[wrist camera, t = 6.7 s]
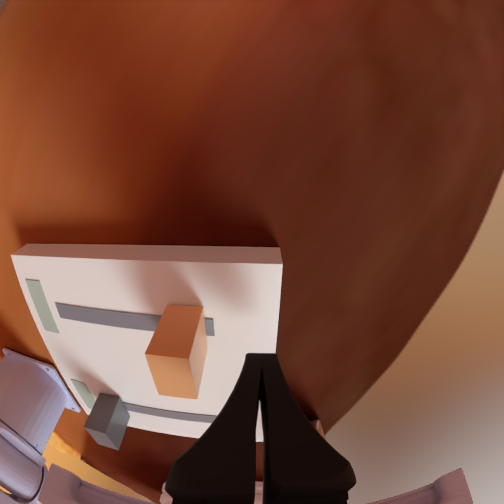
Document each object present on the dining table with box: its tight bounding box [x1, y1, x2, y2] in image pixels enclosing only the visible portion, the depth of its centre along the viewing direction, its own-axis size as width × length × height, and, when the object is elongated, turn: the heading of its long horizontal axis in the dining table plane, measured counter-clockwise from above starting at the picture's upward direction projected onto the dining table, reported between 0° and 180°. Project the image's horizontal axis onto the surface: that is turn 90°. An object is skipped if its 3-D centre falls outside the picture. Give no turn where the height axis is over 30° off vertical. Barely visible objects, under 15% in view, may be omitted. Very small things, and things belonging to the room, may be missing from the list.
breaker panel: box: [11, 244, 283, 442], centre depth 18 cm, size 18×18×2 cm
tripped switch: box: [145, 304, 208, 399], centre depth 13 cm, size 2×3×4 cm, turn 179°
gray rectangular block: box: [84, 393, 130, 450], centre depth 17 cm, size 2×3×4 cm, turn 179°
